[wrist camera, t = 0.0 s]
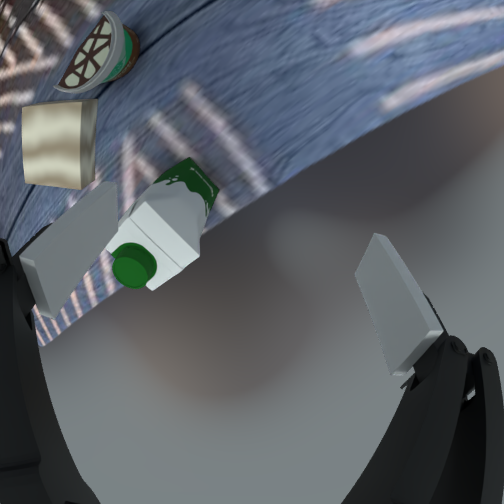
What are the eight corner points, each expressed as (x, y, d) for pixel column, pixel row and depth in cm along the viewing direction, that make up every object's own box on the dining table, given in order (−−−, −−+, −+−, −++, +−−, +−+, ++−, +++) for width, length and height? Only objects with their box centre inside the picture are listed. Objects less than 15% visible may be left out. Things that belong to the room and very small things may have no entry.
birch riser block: (40, 102, 32) (22, 107, 28) (99, 98, 33) (81, 101, 29) (41, 173, 39) (25, 183, 35) (96, 178, 41) (81, 189, 36)
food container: (114, 103, 33) (77, 112, 25) (90, 84, 31) (50, 89, 23) (164, 39, 28) (136, 28, 20) (137, 21, 26) (104, 8, 18)
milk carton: (150, 185, 41) (87, 255, 24) (190, 147, 38) (136, 200, 21) (187, 222, 45) (148, 309, 28) (228, 190, 41) (206, 270, 25)
